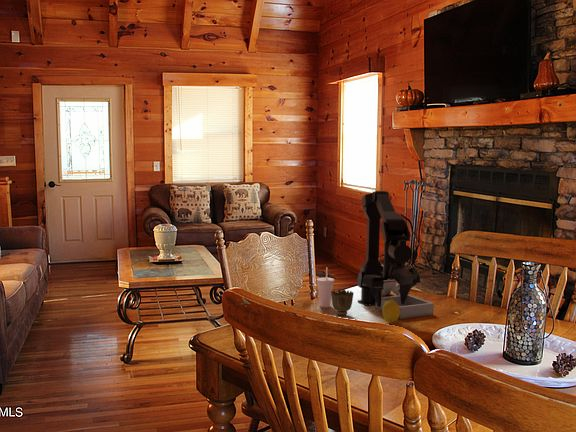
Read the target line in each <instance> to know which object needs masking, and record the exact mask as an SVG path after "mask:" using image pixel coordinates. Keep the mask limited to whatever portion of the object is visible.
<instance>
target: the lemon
mask: <svg viewBox="0 0 576 432" xmlns="http://www.w3.org/2000/svg"><path fill="white" fill-rule="evenodd" d="M381 314H382V318H383V319H384V320H385V322H387V323H389V325H391V324H393V323H394V322H396V321H397V320H399V319H398V317H399V314H400V309H399V305H398V304H397V303H396V302H395V301H393V300H392V299H390V300H389V301H387V302H385V303H384V305H383V308H382V312H381Z"/></svg>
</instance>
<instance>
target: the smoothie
mask: <svg viewBox="0 0 576 432" xmlns="http://www.w3.org/2000/svg"><path fill="white" fill-rule="evenodd" d="M328 273H329V270H328V267H325V277H317V278H316V283H317V294H318V304H319V307H321V308H330V307H331V303H332V295H331V291H334V283H335V278H333V277H328V276H329V275H328Z"/></svg>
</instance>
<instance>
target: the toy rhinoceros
mask: <svg viewBox="0 0 576 432" xmlns="http://www.w3.org/2000/svg"><path fill="white" fill-rule="evenodd" d="M383 287H384V289H383V290H382V294H381V296H382V295H386V296H387V294H390V295H391V293H393V294H394V295H395V296H399V295H400V286H399V284H398V282H397V281H396V282H386V283H384V285H383Z"/></svg>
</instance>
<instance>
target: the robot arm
mask: <svg viewBox="0 0 576 432" xmlns="http://www.w3.org/2000/svg"><path fill="white" fill-rule="evenodd" d="M361 207H362V212H363V214H364V216H365V217H366V243H365V245H366V246H365V248H366V249H365V250H366V251H365V252H366V253H365V260H364V261H363V262H362V264H361V265H360V266H361V268H360V271H359V274H358V276H357V278H356V284H357V287H359V288H361V291H360V293H361V295H360V296H361V297H360V299H358V300H357V303H358V304H359V303H360V304H361V305H365V306H367V307H369V306H374V305H375V306H376V303H377V306H378V307H381V297H382V295H381V294H382V290H383V289H384V287H383V285H384V283H386V282H396V283H398V284H399V286H400V299H401V304H404V303H405V301H406V298H407V296H408V295H409V293H410V291H411V289H412V288H413V287H415V286H417V285H418V284H420V283H421V276H420V273H419V272H418V269H417V268H416V267H410V268H407V267H406V263H407V262H409V261H410V260H411V259H412V257H413V252H412V248H411V246H409V245H407V242H410V240H411V239H410V238H411V233H410V229H409V225H408V222H407V221H406V220H405V218H404V217H403V216H402V215H401V214H399V213H397V212H396V209H395V208H394V205H393V203H392V201H391V199H390V193H389V191H387V190H375V191H372V192H370V193H368V194H364V195H363V197H362V198H361ZM381 220H382V221H381ZM380 231H381V232H380ZM380 233H381V235H382V237H383V241H384V244H383V245H384V246H383V258H382V259H380V238H381V237H380V236H381V235H380ZM380 260H381V261H380ZM382 264H383V265H382Z"/></svg>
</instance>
